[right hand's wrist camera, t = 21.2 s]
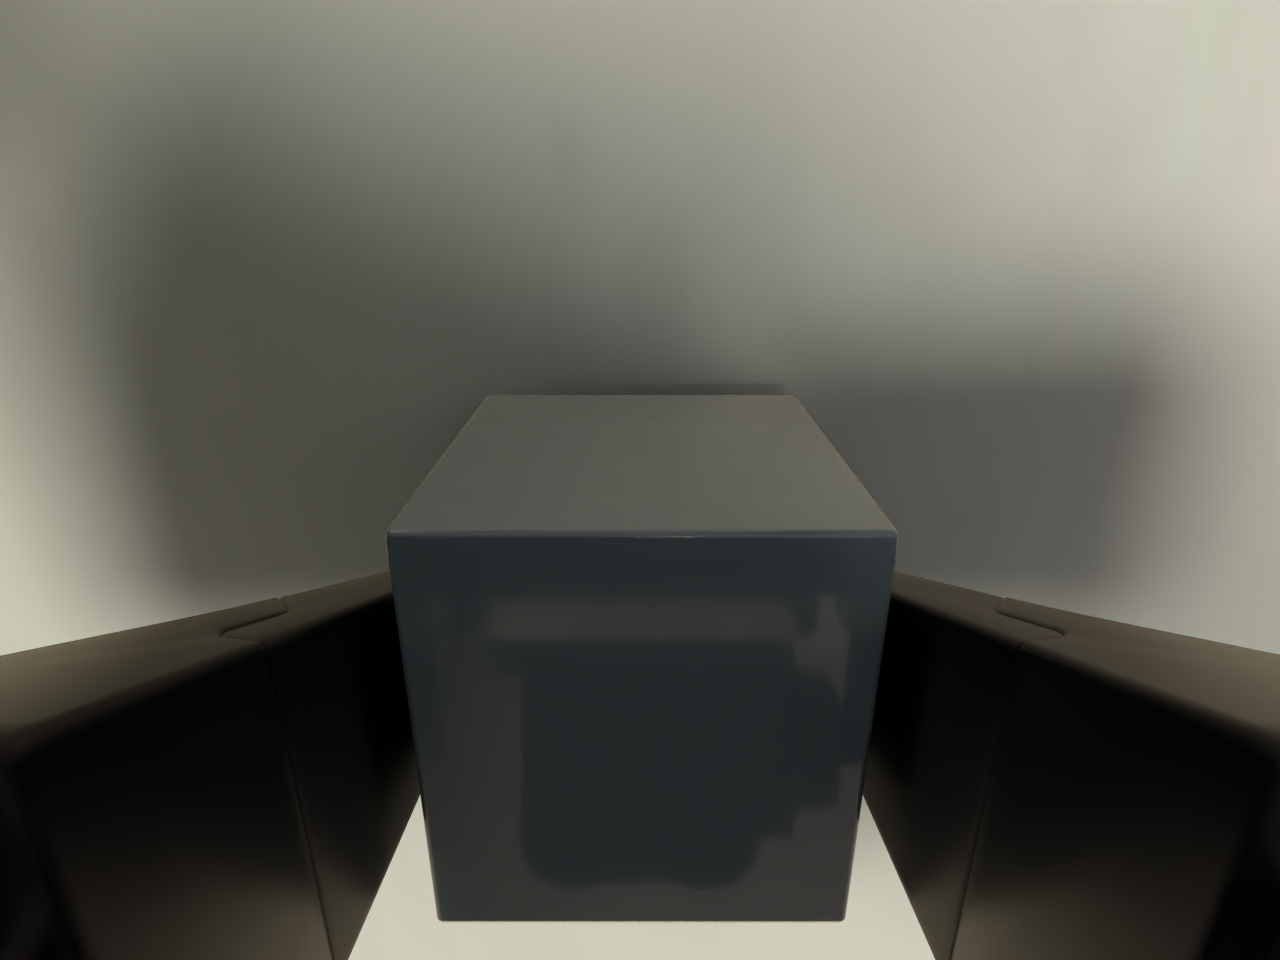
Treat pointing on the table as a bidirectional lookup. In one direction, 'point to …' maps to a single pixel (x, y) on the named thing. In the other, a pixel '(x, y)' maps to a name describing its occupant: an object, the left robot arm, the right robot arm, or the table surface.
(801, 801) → the brick
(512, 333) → the table surface
